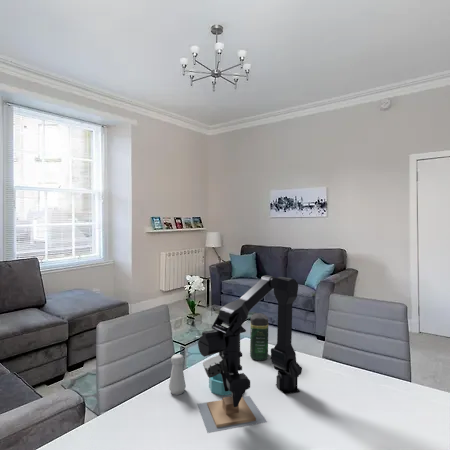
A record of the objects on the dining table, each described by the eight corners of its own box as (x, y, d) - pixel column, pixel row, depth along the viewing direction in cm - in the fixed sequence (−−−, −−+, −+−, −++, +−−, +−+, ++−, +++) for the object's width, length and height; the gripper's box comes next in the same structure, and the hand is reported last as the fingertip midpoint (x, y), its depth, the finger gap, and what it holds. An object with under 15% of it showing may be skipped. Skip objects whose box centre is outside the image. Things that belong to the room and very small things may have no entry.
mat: (249, 397, 110) (249, 395, 110) (267, 423, 96) (267, 421, 96) (196, 405, 105) (196, 403, 105) (207, 434, 91) (207, 432, 91)
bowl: (232, 381, 121) (232, 368, 121) (240, 394, 112) (240, 380, 112) (207, 385, 119) (207, 371, 119) (213, 398, 110) (213, 384, 110)
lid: (242, 399, 108) (242, 387, 108) (255, 420, 96) (255, 407, 96) (207, 404, 105) (207, 393, 105) (216, 427, 93) (216, 414, 93)
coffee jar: (269, 361, 139) (269, 318, 139) (250, 360, 139) (250, 317, 139) (267, 352, 149) (267, 311, 148) (249, 351, 149) (250, 311, 149)
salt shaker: (182, 398, 110) (182, 359, 109) (166, 396, 111) (166, 358, 111) (187, 389, 115) (188, 353, 115) (172, 387, 116) (172, 351, 116)
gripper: (199, 340, 107) (198, 387, 107) (212, 364, 89) (212, 420, 89) (231, 336, 110) (231, 382, 110) (251, 359, 92) (250, 414, 92)
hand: (230, 398), depth 101 cm, fingers open, 9 cm apart
